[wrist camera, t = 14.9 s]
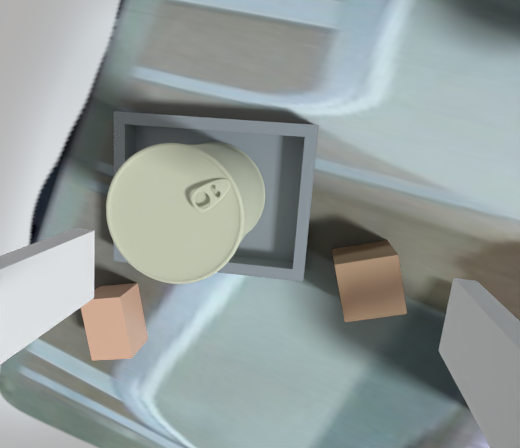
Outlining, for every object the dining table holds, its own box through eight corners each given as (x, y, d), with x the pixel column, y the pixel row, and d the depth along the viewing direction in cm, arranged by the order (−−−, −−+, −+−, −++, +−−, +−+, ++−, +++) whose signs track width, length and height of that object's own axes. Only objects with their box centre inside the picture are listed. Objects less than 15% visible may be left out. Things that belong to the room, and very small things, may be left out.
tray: (128, 252, 41) (113, 261, 38) (128, 113, 38) (113, 111, 35) (303, 270, 39) (303, 281, 36) (317, 126, 36) (318, 125, 33)
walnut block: (331, 249, 38) (334, 264, 33) (386, 239, 37) (398, 254, 32) (340, 299, 39) (344, 322, 34) (394, 291, 38) (407, 313, 33)
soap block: (100, 285, 42) (79, 300, 38) (138, 282, 41) (119, 297, 37) (112, 340, 43) (92, 360, 39) (148, 338, 42) (131, 358, 38)
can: (284, 211, 37) (271, 242, 25) (201, 261, 39) (153, 311, 27) (229, 121, 36) (189, 111, 24) (146, 177, 38) (72, 192, 26)
